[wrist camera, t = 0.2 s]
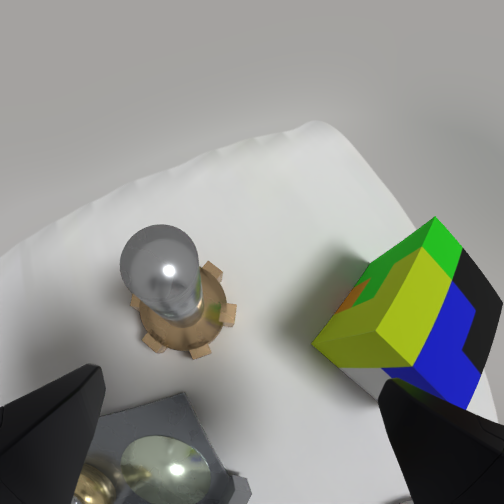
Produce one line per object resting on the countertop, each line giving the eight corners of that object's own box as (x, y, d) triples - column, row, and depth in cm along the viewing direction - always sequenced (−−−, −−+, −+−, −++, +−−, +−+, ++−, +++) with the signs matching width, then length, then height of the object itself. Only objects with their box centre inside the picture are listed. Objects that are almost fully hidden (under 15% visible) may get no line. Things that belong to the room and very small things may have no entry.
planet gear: (246, 339, 21) (284, 318, 10) (160, 371, 19) (104, 385, 8) (210, 253, 24) (212, 161, 12) (129, 283, 22) (65, 213, 11)
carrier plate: (261, 499, 16) (274, 529, 11) (103, 530, 12) (86, 555, 7) (199, 386, 19) (196, 395, 15) (42, 427, 15) (10, 436, 10)
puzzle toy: (384, 406, 20) (462, 416, 11) (310, 344, 22) (375, 330, 13) (430, 325, 24) (503, 302, 15) (370, 263, 26) (435, 216, 16)
